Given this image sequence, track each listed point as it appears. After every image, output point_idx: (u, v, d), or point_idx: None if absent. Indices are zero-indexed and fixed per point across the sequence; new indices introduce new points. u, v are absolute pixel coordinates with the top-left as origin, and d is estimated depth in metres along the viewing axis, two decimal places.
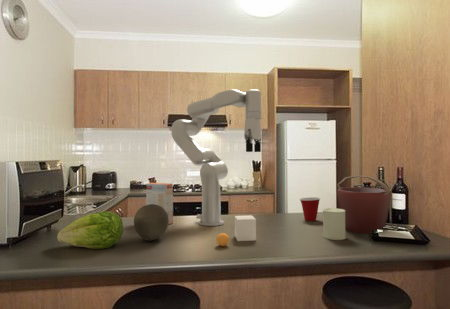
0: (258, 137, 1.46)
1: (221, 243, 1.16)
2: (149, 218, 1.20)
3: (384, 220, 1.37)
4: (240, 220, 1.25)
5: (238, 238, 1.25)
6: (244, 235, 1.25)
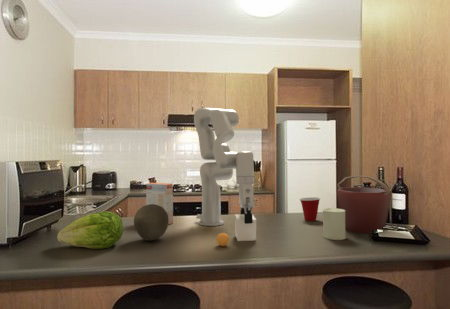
0: (241, 205, 1.27)
1: (221, 243, 1.16)
2: (149, 218, 1.20)
3: (384, 220, 1.37)
4: (240, 221, 1.24)
5: (238, 238, 1.25)
6: (244, 235, 1.25)
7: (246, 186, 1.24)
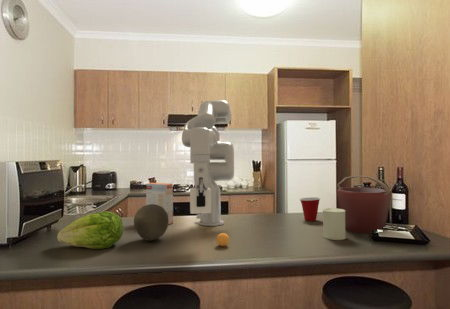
0: None
1: (221, 243, 1.16)
2: (149, 218, 1.20)
3: (384, 220, 1.37)
4: (193, 191, 1.14)
5: (191, 210, 1.14)
6: (198, 207, 1.14)
7: (199, 165, 1.14)
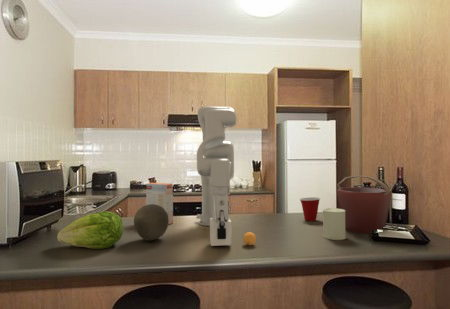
0: (215, 217, 1.17)
1: (253, 240, 1.17)
2: (149, 218, 1.20)
3: (384, 220, 1.37)
4: (214, 223, 1.14)
5: (212, 242, 1.14)
6: (218, 239, 1.15)
7: (220, 198, 1.14)
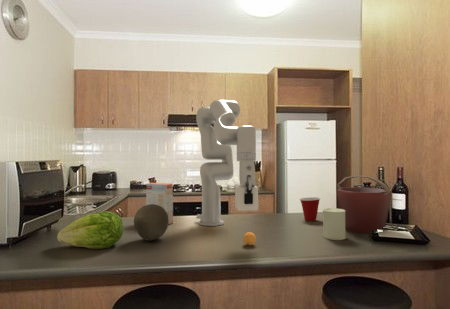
0: (241, 183, 1.18)
1: (253, 240, 1.17)
2: (149, 218, 1.20)
3: (384, 220, 1.37)
4: (241, 188, 1.15)
5: (239, 208, 1.15)
6: (245, 204, 1.16)
7: (247, 163, 1.15)
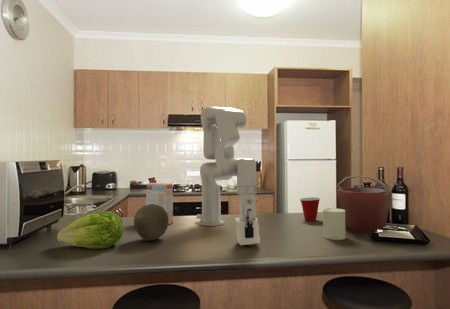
0: (242, 216, 1.18)
1: None
2: (149, 218, 1.20)
3: (384, 220, 1.37)
4: (241, 222, 1.15)
5: (241, 242, 1.15)
6: (247, 238, 1.15)
7: (248, 197, 1.15)
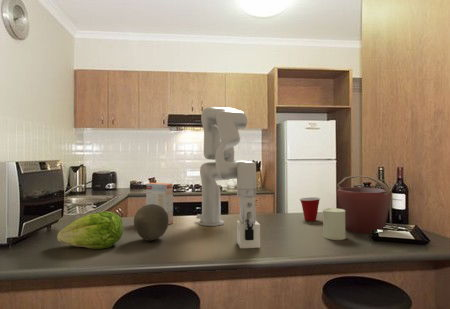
0: (242, 219, 1.18)
1: None
2: (149, 218, 1.20)
3: (384, 220, 1.37)
4: (243, 226, 1.15)
5: (241, 245, 1.15)
6: (247, 242, 1.16)
7: (247, 200, 1.15)
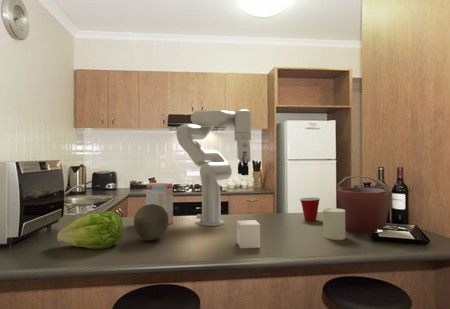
0: (238, 159, 1.38)
1: None
2: (149, 218, 1.20)
3: (384, 220, 1.37)
4: (243, 226, 1.15)
5: (241, 245, 1.15)
6: (247, 242, 1.16)
7: (243, 141, 1.35)
